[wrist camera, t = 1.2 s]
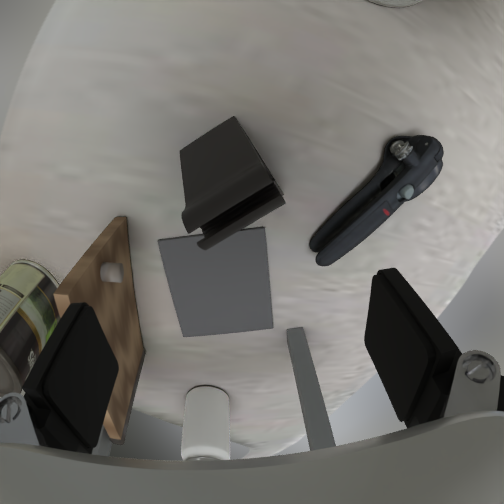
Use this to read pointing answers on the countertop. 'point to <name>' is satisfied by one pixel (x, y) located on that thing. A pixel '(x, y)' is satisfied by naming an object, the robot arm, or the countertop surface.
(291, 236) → the countertop surface
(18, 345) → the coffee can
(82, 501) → the robot arm
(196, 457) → the can
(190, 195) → the phone stand
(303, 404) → the door frame
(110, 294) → the gate door
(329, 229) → the can opener
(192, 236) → the rubber mat
